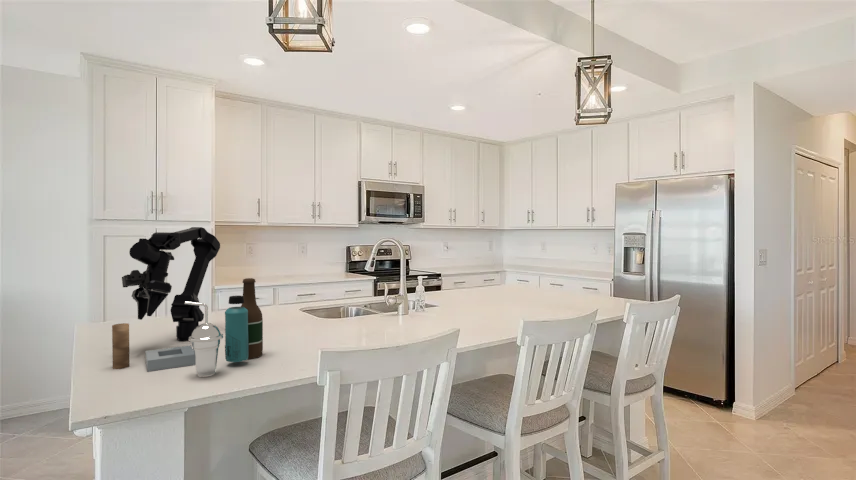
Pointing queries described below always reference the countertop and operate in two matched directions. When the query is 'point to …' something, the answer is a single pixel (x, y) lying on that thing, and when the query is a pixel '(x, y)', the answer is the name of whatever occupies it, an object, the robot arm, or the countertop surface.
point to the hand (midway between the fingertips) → (144, 317)
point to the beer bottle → (253, 319)
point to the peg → (120, 345)
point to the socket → (169, 358)
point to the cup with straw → (205, 345)
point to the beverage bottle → (236, 331)
